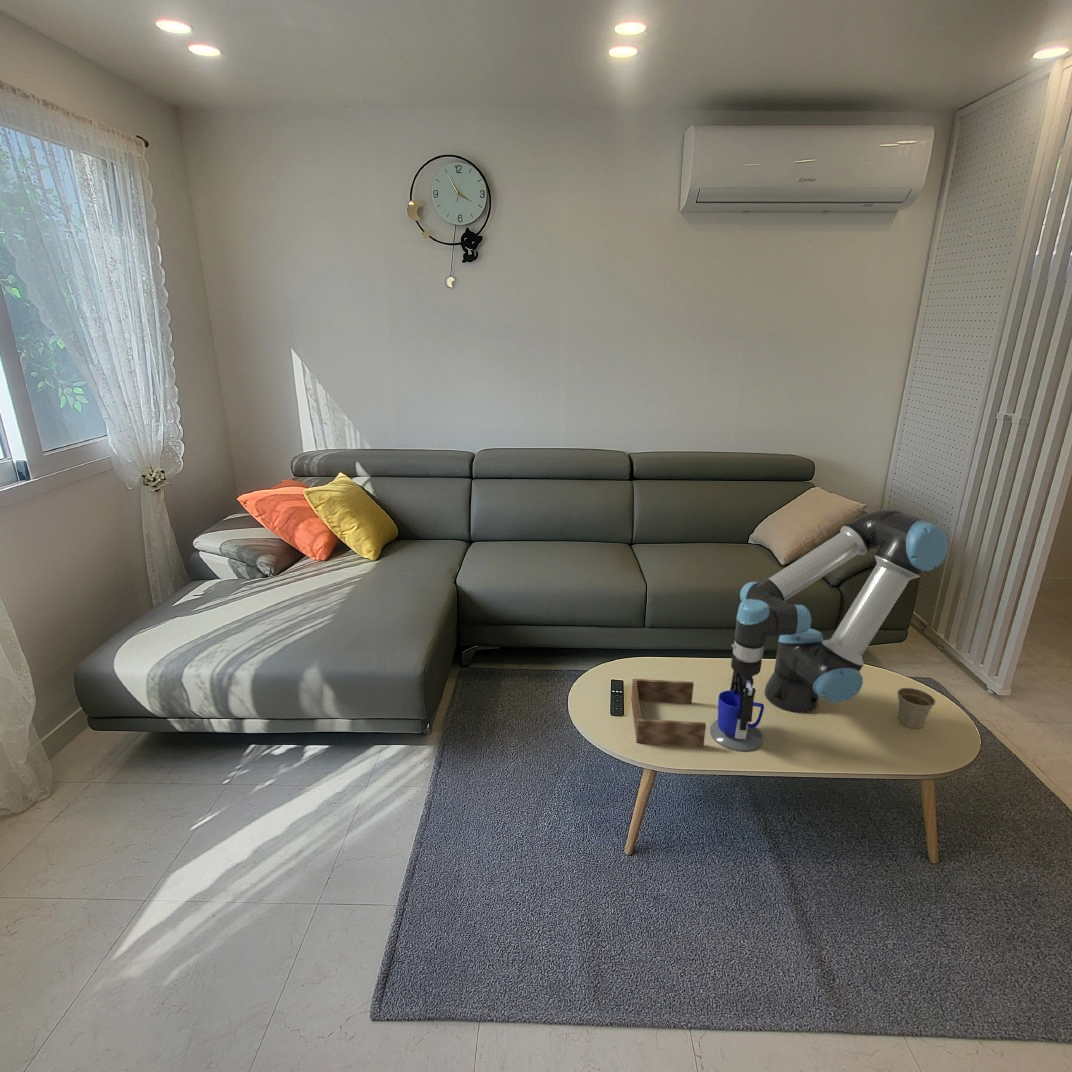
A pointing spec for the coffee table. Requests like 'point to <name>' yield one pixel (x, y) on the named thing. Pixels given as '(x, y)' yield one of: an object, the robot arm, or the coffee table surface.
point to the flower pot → (914, 706)
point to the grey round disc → (731, 742)
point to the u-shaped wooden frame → (665, 729)
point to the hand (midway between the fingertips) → (737, 729)
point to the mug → (732, 712)
